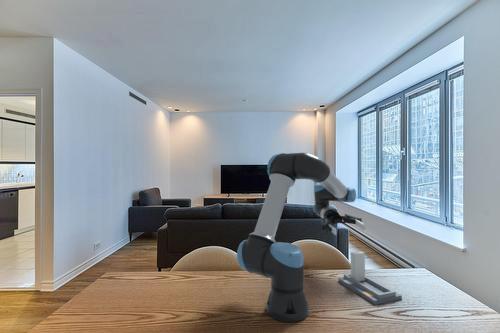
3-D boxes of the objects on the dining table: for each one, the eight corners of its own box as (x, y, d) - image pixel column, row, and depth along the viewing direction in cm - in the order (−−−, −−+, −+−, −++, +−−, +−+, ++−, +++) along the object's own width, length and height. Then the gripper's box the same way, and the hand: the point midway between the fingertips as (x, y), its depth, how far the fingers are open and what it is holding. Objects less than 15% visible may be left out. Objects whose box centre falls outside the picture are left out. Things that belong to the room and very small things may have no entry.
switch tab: (351, 279, 121) (350, 252, 121) (360, 277, 123) (360, 250, 123) (355, 281, 118) (355, 254, 118) (365, 280, 120) (364, 252, 120)
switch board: (338, 281, 123) (338, 274, 123) (362, 277, 127) (362, 271, 127) (374, 304, 102) (374, 296, 102) (401, 299, 106) (401, 291, 106)
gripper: (352, 218, 147) (376, 232, 126) (308, 226, 144) (324, 242, 123) (351, 205, 146) (375, 217, 125) (306, 212, 143) (323, 226, 122)
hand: (350, 229), depth 124 cm, fingers open, 13 cm apart
